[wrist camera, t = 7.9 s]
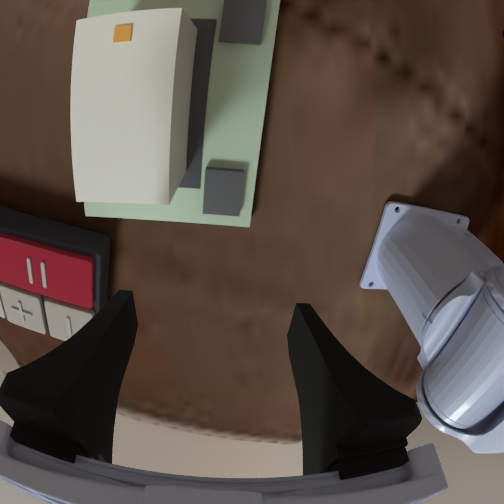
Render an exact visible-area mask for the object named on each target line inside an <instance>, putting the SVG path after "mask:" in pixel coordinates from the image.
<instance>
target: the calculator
mask: <svg viewBox="0 0 504 504" xmlns="http://www.w3.org/2000/svg"><path fill="white" fill-rule="evenodd" d="M110 244H111V240H110V237H109V236H108V235H105V234H102V233H98V232H94V231H91V230H87V229H83V228H80V227H76V226H72V225H69V224H65V223H62V222H58V221H54V220H50V219H46V218H42V217H38V216H34V215H30V214H26V213H22V212H18V211H14V210H10V209H9V208H8V207H6V206H2V205H0V317H2V318H6V319H8V321H9V322H11V323H14V324H17V325H19V326H22V327H25V328H28V329H30V330H33V331H36V332H39V333H42V334H46V333H48V334H50V335H51V336H52V337H54V338H57V339H61V340H64V341H66V340H68V339H69V338H70V337H72V336H73V335H74V334H75V333H76V332H77V331H79V330H80V329H81V328H82V327H83V326H84V325H85V324H86V323H87V322H88V321H89V320H91V319H92V318H93V317H94V316H95V315H96V314H97V313H98V312H99V311H100V310H101V309H102V307H103V306H104V305H105V304H106V303H107V299H108V273H109V257H110Z"/></svg>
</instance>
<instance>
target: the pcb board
mask: <svg viewBox="0 0 504 504" xmlns="http://www.w3.org/2000/svg"><path fill="white" fill-rule="evenodd" d="M279 6H280V0H90V3H89V9H88V15H87V18H90V17H96V16H101V15H107V14H114V13H121V12H129V11H138V10H150V9H165V8H182V9H183V10H184V11H185V13H186V14H187V15H188V17H189V18H190V20H191V21H192V22H193V24H194V25H195V26H196V28H197V37H196V46H195V54H194V64H193V74H192V85H191V97H190V110H189V124H188V141H187V162H186V173H185V175H184V177H183V179H182V181H181V183H180V185H179V186H178V188H177V190H176V192H175V194H174V196H173V198H172V200H171V202H170V204H169V205H157V204H135V203H106V202H84V208H85V216H92V217H111V218H129V219H145V220H160V221H175V222H189V223H203V224H216V225H229V226H241V227H250V220H251V212H252V205H253V197H254V190H255V182H256V174H257V167H258V159H259V152H260V144H261V137H262V129H263V122H264V114H265V107H266V100H267V92H268V85H269V78H270V70H271V63H272V56H273V49H274V42H275V34H276V27H277V20H278V13H279Z"/></svg>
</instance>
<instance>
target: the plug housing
mask: <svg viewBox="0 0 504 504" xmlns="http://www.w3.org/2000/svg"><path fill="white" fill-rule="evenodd" d="M196 37H197V28H196V26H195V25H194V24H193V22H192V21H191V20H190V18H189V17H188V15H187V14H186V13H185V11H184V10H183V9H182V8H165V9H150V10H138V11H129V12H121V13H114V14H107V15H101V16H96V17H90V18H85V19H81V20H77V23H76V30H75V39H74V48H73V60H72V75H71V146H72V162H73V175H74V185H75V194H76V202H106V203H135V204H157V205H169V204H170V202H171V200H172V198H173V196H174V194H175V192H176V190H177V188H178V186H179V185H180V183H181V181H182V179H183V177H184V175H185V173H186V162H187V141H188V124H189V110H190V97H191V85H192V74H193V64H194V54H195V46H196Z"/></svg>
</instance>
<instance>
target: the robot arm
mask: <svg viewBox="0 0 504 504" xmlns="http://www.w3.org/2000/svg"><path fill="white" fill-rule="evenodd" d="M396 207H398V209H397V210H396V211H395V208H396ZM457 220H458V221H457ZM468 225H469V218H468V217H466V216H463V215H458V214H454V213H449V212H445V211H440V210H435V209H431V208H426V207H421V206H416V205H410V204H405V203H400V202H394V201H389V202H388V203H387V204H386V205H385V208H384V211H383V215H382V218H381V221H380V224H379V227H378V231H377V234H376V237H375V240H374V243H373V246H372V249H371V252H370V255H369V258H368V260H367V263H366V266H365V269H364V272H363V274H362V277H361V280H360V286H361V287H362V288H364V289H388V291H389V292H390V294H391V295H392V297H393V299H394V300H395V302H396V304H397V305H398V307H399V309H400V311H401V312H402V314H403V316H404V317H405V319H406V321H407V323H408V324H409V326H410V328H411V330H412V332H413V333H414V335H415V337H416V339H417V341H418V342H419V344H420V346H421V352H420V354H419V356H418V357H417V358H418V360H419V362H420V364H421V366H422V368H423V371H422V373H421V374H420V376H419V378H418V381H417V385H416V394H417V399H418V403H419V405H420V408H421V410H422V411H423V413H424V415H425V416H426V417H427V419H428V420H429V421H430V422H431V423H432V425H434V426H435V427H436V428H437V429H439V430H440V431H442V432H444V433H446V434H449V435H452V436H454V437H456V438H458V439H460V440H461V441H463V442H464V443H465V444H466V445H467V446H468V447H469V448H470V449H471V450H472V451H473V452H474V453H501V452H504V264H503V262H502V261H501V260H500V259H499V258H498V257H497V256H496V255H495V254H494V253H493V252H492V251H490V250H489V249H488V248H487V247H486V246H485V245H484V244H483V243H482V242H481V241H480V240H478V239H477V238H476V237H475V236H474V235H473V234H472V233H471V232H469V231H468V230H467V227H468ZM370 282H372V283H371V284H369V283H370ZM137 327H138V322H137V316H136V310H135V304H134V297H133V291H126V290H119V291H118V292H117V293H116V294H115V295H114V296H113V297H112V298H111V299H110V300H109V301H108V302H107V303H106V304H105V305H104V306H103V307H102V309H101V310H100V311H99V312H98V313H97V314H96V315H95V316H94V317H93V318H92V319H91V320H89V321H88V322H87V323H86V324H85V325H84V326H83V327H82V328H81V329H80V330H79V331H77V332H76V333H75V334H74V335H73V336H72V337H70V338H69V339H68V340H66V341H65V342H64V343H62V344H61V345H60V346H58V347H56V348H55V349H53V350H52V351H50V352H49V353H47V354H46V355H44V356H42V357H41V358H39V359H37V360H35V361H33V362H31V363H29V364H27V365H25V366H23V367H20V368H18V369H16V370H14V371H11V372H8V373H7V375H6V377H5V379H4V381H3V383H2V385H1V387H0V406H1V407H2V408H3V409H4V411H5V412H6V413H7V414H8V415H9V416H10V417H11V418H12V419H13V421H14V425H13V427H11V426H10V425H8V424H7V423H5V422H3V421H0V479H1V480H2V481H4V482H6V483H8V484H10V485H12V486H13V487H16V488H17V489H20V490H22V491H24V492H26V493H28V494H30V495H32V496H35V497H37V498H39V499H41V500H43V501H46V502H48V503H50V504H419V503H421V502H423V501H424V500H427V499H429V498H431V497H432V496H434V495H436V494H438V493H440V492H442V491H443V490H445V489H447V488H448V485H447V482H446V479H445V476H444V473H443V470H442V467H441V464H440V461H439V458H438V455H437V453H436V450H435V447H434V445H433V444H432V443H431V444H428V445H424V446H421V447H418V448H415V449H412V450H410V451H408V452H407V451H406V448H405V446H407V445H408V442H407V439H406V437H407V436H408V435H409V434H410V433H411V432H412V431H413V430H414V429H416V427H417V426H418V425H419V424H420V422H421V420H422V417H421V414H420V411H419V409H418V406H417V404H416V402H415V400H414V399H412V398H410V397H408V396H406V395H404V394H402V393H400V392H399V391H397V390H395V389H394V388H392V387H390V386H389V385H387V384H386V383H384V382H383V381H381V380H380V379H379V378H377V377H376V376H375V375H373V374H372V373H371V372H370V371H368V370H367V369H366V368H365V367H363V366H362V365H361V364H360V363H359V362H358V361H357V360H356V359H355V358H354V357H353V356H352V355H351V354H350V353H349V352H348V351H347V350H346V349H345V348H344V347H343V346H342V345H341V344H340V342H339V341H338V340H337V339H336V338H335V336H334V335H333V334H332V333H331V332H330V330H329V329H328V328H327V326H326V325H325V324H324V323H323V321H322V320H321V319H320V317H319V316H318V314H317V313H316V312H315V310H314V309H313V308H312V306H311V305H310V304H305V303H296V306H295V309H294V313H293V317H292V320H291V324H290V327H289V331H288V334H287V338H288V349H289V357H290V362H291V366H292V371H293V375H294V380H295V384H296V389H297V393H298V399H299V405H300V415H301V428H302V444H303V476H292V477H277V478H210V477H195V476H184V475H174V474H165V473H159V472H152V471H145V470H140V469H134V468H129V467H124V466H119V465H114V464H112V447H113V433H114V424H115V415H116V408H117V402H118V396H119V391H120V387H121V383H122V380H123V377H124V373H125V370H126V367H127V364H128V361H129V358H130V355H131V352H132V349H133V346H134V342H135V337H136V332H137Z"/></svg>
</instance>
